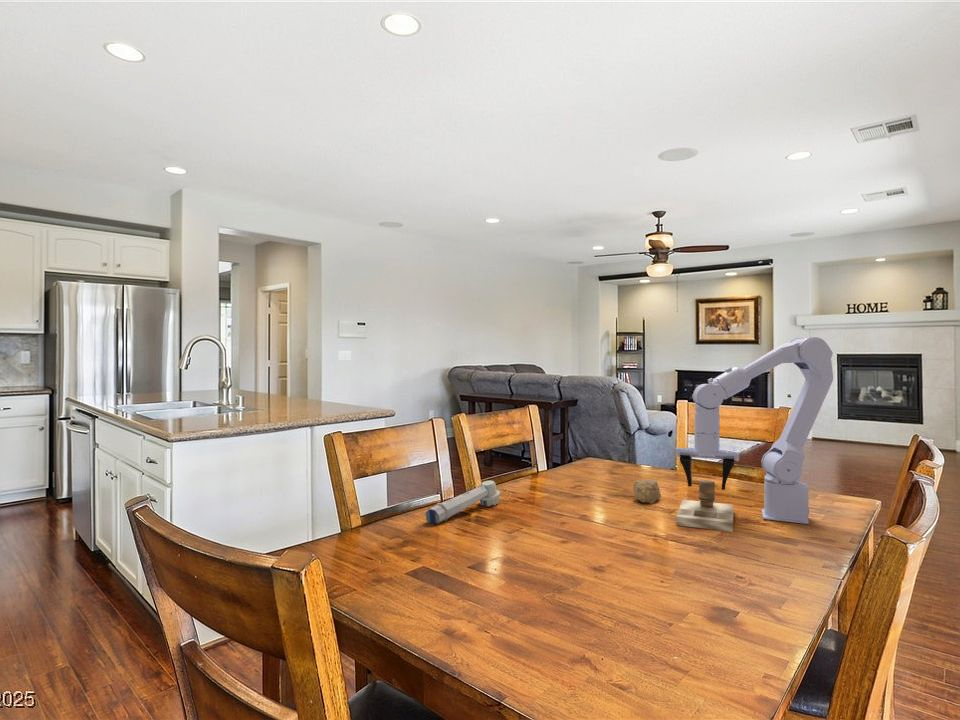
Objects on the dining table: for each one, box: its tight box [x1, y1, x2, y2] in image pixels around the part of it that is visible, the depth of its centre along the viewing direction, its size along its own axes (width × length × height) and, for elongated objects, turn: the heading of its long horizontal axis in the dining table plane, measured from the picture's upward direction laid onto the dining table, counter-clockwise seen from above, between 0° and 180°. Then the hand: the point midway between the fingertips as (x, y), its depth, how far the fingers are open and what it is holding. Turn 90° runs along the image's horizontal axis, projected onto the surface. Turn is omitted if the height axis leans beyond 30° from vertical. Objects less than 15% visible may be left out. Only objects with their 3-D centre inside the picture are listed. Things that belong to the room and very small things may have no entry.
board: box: [675, 499, 734, 533], centre depth 134 cm, size 12×16×2 cm
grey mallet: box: [425, 480, 501, 526], centre depth 141 cm, size 5×7×25 cm
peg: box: [698, 479, 716, 508], centre depth 138 cm, size 4×4×6 cm
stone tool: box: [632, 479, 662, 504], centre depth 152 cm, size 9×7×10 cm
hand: (706, 487), depth 138 cm, fingers open, 7 cm apart
